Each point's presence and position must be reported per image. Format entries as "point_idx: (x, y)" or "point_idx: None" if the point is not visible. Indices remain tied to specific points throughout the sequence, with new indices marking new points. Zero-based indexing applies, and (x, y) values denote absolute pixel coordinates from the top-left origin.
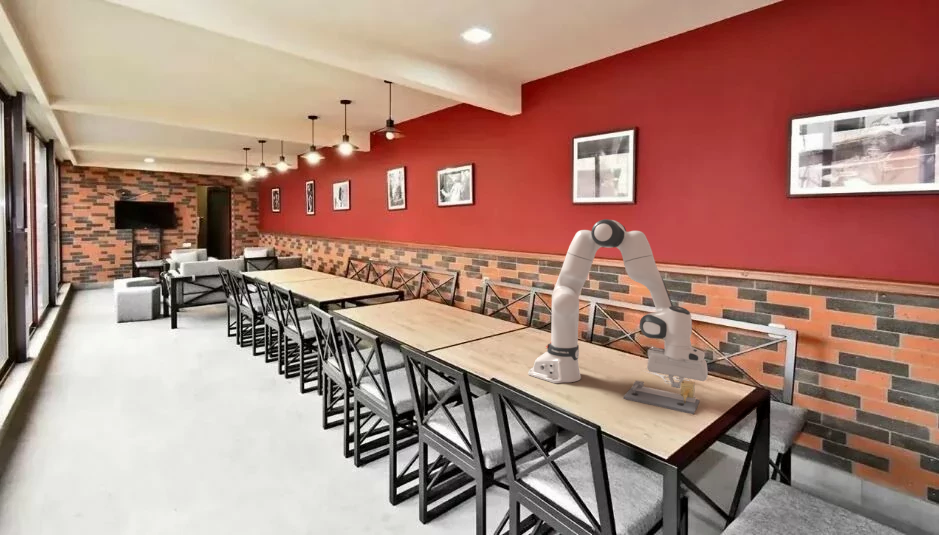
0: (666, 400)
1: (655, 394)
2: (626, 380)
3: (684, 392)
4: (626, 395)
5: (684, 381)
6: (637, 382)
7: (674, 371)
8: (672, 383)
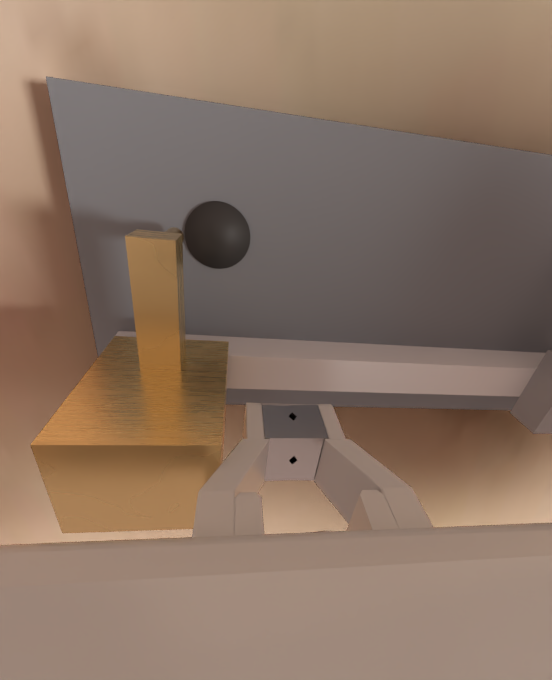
0: (339, 267)
1: (417, 347)
2: (536, 480)
3: (179, 331)
4: None
5: (189, 494)
6: None
7: (391, 655)
8: (331, 430)
